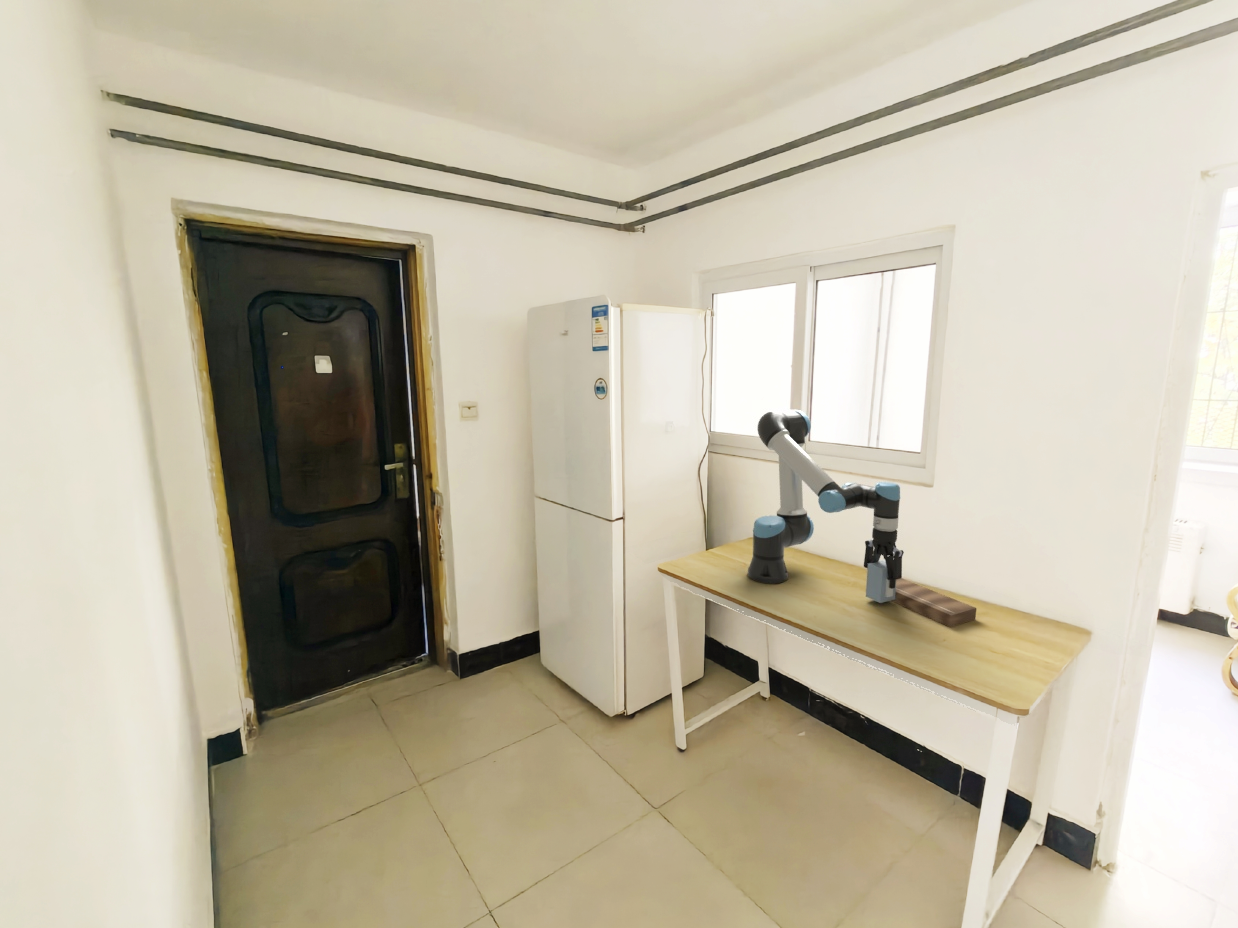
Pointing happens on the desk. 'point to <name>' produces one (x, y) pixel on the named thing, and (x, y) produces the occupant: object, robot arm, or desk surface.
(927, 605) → the plank
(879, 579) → the pale blue block
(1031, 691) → the desk surface
